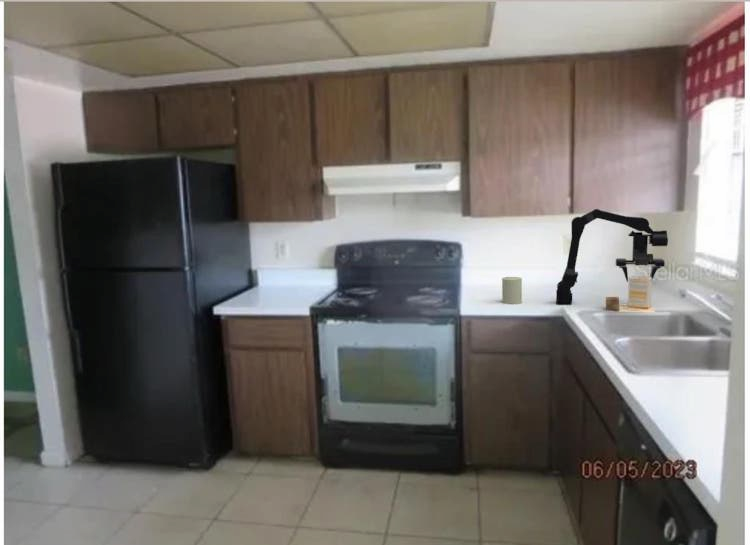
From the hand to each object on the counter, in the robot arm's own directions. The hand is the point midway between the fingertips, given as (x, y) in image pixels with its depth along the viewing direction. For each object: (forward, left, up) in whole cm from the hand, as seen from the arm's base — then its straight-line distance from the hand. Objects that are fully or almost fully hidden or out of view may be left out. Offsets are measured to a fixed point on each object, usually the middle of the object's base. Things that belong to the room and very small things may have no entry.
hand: (638, 281), depth 232 cm
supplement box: (0, -5, -10) cm, 12 cm away
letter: (-2, -7, -10) cm, 13 cm away
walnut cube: (-11, -11, -10) cm, 19 cm away
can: (-54, -2, -11) cm, 55 cm away
